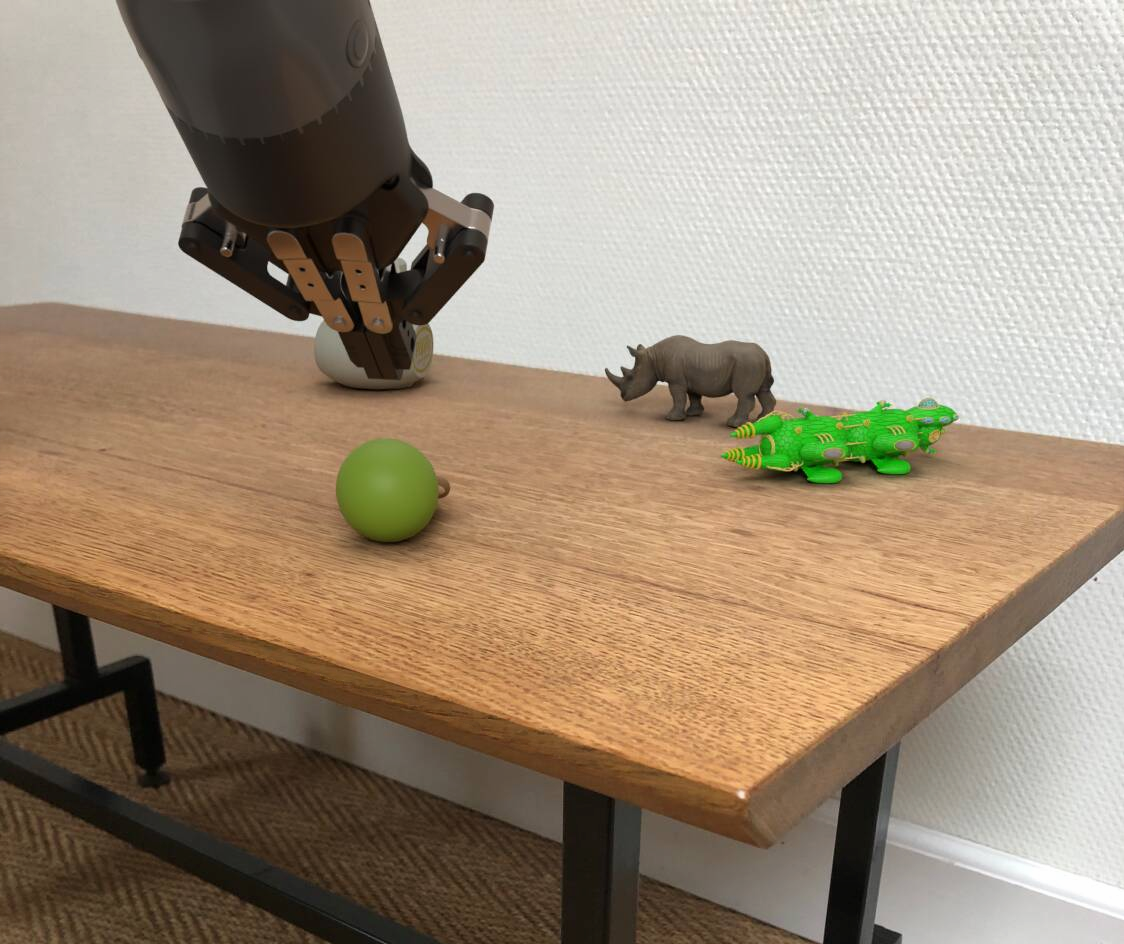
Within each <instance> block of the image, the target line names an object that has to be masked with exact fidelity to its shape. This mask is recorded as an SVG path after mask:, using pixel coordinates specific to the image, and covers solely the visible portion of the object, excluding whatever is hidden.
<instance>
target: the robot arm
mask: <svg viewBox="0 0 1124 944" xmlns="http://www.w3.org/2000/svg"><path fill="white" fill-rule="evenodd" d="M115 2H116V6H117V9H118V11H119V15H120V17H121V20H122V22H123V24H124V26H125V28H126V31H127V32H128V33H127V34H128V35H129V37H130V39H131V42H132V43H133V45H134V47H135V50H136V52H137V54H138V56H139V59H140V60H141V61H142V63H143V65H144V66H145V68H146V71H147V73H148V75H149V76H150V78H151V80H152V83H153V85H154V87H155V88H156V90H157V92H158V94H159V97H160V99H161V100H162V103H163V105H164V106H165V108H166V110H167V112H168V114H169V117H170V118H171V120H172V122H173V124H174V126H175V128H176V130H177V132H178V135H179V136H180V138H181V140H182V142H183V144H184V146H185V148H186V150H187V153H188V154H189V155H190V157H191V158H190V159H192V162H193V164H194V166H195V168H196V169H197V171H198V173H199V176H200V178H201V180H202V181H203V183H204V185H205V187H203V186H198V187H195V188H193V189H192V191H191V193H190V197H189V200H188V204H187V206H186V208H185V213H184V216H183V220H182V223H181V230H180V233H179V238H178V241H177V246H178V248H179V249H180V250H181V251H182V252H183V253H184V254H185V255H187V256H188V257H190V258H191V259H193V260H195V261H196V262H198V263H199V264H201V265H202V266H204V267H205V268H207V269H208V270H211V271H212V272H214V273H215V274H217V275H219V276H220V277H222V278H223V279H225V280H226V281H228V282H229V283H231V284H232V285H235V286H236V287H237V288H239V289H241V290H243V291H244V292H246V293H247V294H249V295H251V296H252V297H253V298H255V299H257V300H258V301H260V302H261V303H263V304H265V305H266V306H267V307H269V308H270V309H272V310H274V311H275V312H277V313H279V314H280V315H282V316H284V317H285V318H287V319H288V320H291V321H294V322H305V321H307V320H308V319H309V317H310V315H315V316H318V317H320V318H321V317H322V319H323V321H325V322H326V324H327V325H328V326H329V327H330V328H331V329H333V330H335V331H338V334H339V336H340V338H341V341H342V343H343V345H344V346H345V350H346V352H347V354H348V356H349V359H350V361H351V362H352V363H353V364H354V365H355V366H357V367H358V368H364V370H365V373H366V375H367V377H368V379H381V380H384V379H385V380H401V379H402V375H403V370H410V367H411V364H412V359H413V353H414V348H415V343H416V338H417V336H416V333H415V330H414V327H413V324H414V325H419V326H421V325H426V324H430V323H431V321H432V320H433V319H434V318H435V317H436V316H437V315H438V313H439V312H440V311H441V310H442V309H443V308H444V307H445V306H446V305H447V304H448V302H449V301H450V300H451V299H452V298H453V297H454V296H455V295H456V293H457V292H458V291H459V290H460V289H461V288H462V287H463V286H464V285H465V283H466V282H468V281H469V279H470V278H471V277H472V276H473V275H474V274H475V272H476V271H478V269H479V268H480V267H481V266H482V265H483V264H484V262H485V260H486V255H487V250H488V244H489V237H490V232H491V228H492V220H493V215H494V209H495V204H494V201H493V200H492V199H491V197H489V196H488V195H486V194H484V193H481V192H471V193H468V194H466V195H465V197H463V198H462V200H461V201H458V200H456V199H454V198H453V197H451V196H449V195H447V194H445V193H443V192H441V191H440V190H438V189H436V188H434V182H433V181H434V180H433V176H432V173H431V170H430V169H429V167H428V166H427V165H426V163H425V162H424V161H423V159H421V158H420V157H419V156H418V154H416V152H415V151H414V150H413V149H412V147H411V145H410V141H409V138H408V133H407V128H406V123H405V119H404V115H403V110H402V107H401V103H400V100H399V97H398V93H397V90H396V86H395V83H394V80H393V75H392V72H391V69H390V66H389V65H390V64H389V62H388V59H387V56H386V53H385V52H386V51H385V49H384V45H383V42H382V38H381V35H380V31H379V27H378V24H377V21H376V18H375V14H374V10H373V7H372V4H371V0H115ZM422 224H423V226H425V227H426V229H427V230H428V231H427V236H426V244H425V245H424V247H423V248H422V249H421V250H420V252H419V253H418V254H417V256H415V258H414V259H413V260H412V261H411V264H410V269H407V271H404V272H400V269H399V264H398V260H397V258H399V256H400V255H401V254H402V253H403V251H404V249H405V248H406V247H407V245H408V244H409V243H410V241H411V239H412V238H413V237H414V235H415V234H416V232H417V231H418V230H419V228H420V227H421V225H422ZM269 263H270V264H272V265H273V266H275V267H277V268H279V269H280V270H281V271H282V272H284V273H286V274H287V279H286V283H283V282H281V281H280V280H278V279H277V278H275V277H274V276H273V275H272V274H270V271H269V269H268V265H269Z"/></svg>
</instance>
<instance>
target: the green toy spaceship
mask: <svg viewBox="0 0 1124 944" xmlns="http://www.w3.org/2000/svg"><path fill="white" fill-rule="evenodd" d="M891 406H893V404H892V403H890V402H887V400H884V399H882V400H879V401H877V402H876V405H875V406H874V407H873V408H871V409H870V410H864V411H857V412H852V413H850V414H848V413H847V412H845V411H842V412H841V413H840V415H834V416H833V415H832V416H830V415H829V416H828V415H820V414H814V413H813V412H812V411H811V410H810V409H809V408H808V407H803V408H798V410H795V413H799V414H801V415H802V416H803V417H797V418H795V417H794V416H793V414H790V413H786V412H785V411H780V410H779V409H778V410H774V411H773V412H771V413H770V414H767V415H766V416H765V417H762V418H760V419H759V420H758V421H756V420H755V421H754V422H753V423H752V422H751V421H750V422H747V423H746V424H745V425H742V426H740V427H736V429H735V430H733V432H732V433H730V434H729V437H730V438H735V439H737V440H738V439H741V440H742V439H753V438H755V436H759V435H760V438H759V440H758V444H755V445H750V446H747V447H742V446H736V447H734V448H731V449H728V450H726V451H724V453H722V454H720V457H721V458H722V459H724V460H725V461H728V462H732V463H735V464H737V465H740V467H744V468H745V469H749V470H754V471H759V470H760V469H764V470H769V471H775V472H791V471H793V472H798V470H799V469H800V470H802V471H803V472H804V473H805V475H806V476H807V478H806V480H807V481H808V482H812V483H816V484H835V483H839V482H840V481H842V480H843V474H842V472H841V471H840V470H838V469H836V468H834V467H838V466H839V463H842V462H850V461H851V462H860V463H861V464H865V463H866V461H871V462H872V463H873V464H874V465H875V467H876V469H877V470H876V471H877V472H879V473H881V474H886V475H906V474H908V473H909V472H911V470H912V466H911V464H910V463H909V462H908V461H906V460H905V459H907V458H908V457H909V452H915V451H916V450H918V449H919V448H920V449H921V451H923V453H924V454H925V455H930V454H935V453H937V451H938V450H935V449H934V448H932V447H931V446H932V445H934V444H935V443H937V442H938V441H939V440H940V438H941V436H942V435H946V434H947V433H948V431H947V429H946V428H945V427H947V426H950V425H951V424H953V423H954V422H957V421H958V420H959V418H960V415H959V414H958V413H957V412H956V411H955V410H954V409H953V408H951V407H949V406H947V405H943V404H939V402H938V401H937V400H936V399H934V398H932V397H925V398H924V399H922V400H920V401H919V403H918V405H917V406H912V407H911V408H909V409H906V410H904V409H902V408H890V407H891ZM772 413H774V414H772ZM780 415H781V416H780ZM785 417H786V419H785ZM789 417H791V418H789ZM901 456H902V457H903V459H901V458H900V457H901ZM831 464H832V465H833V466H834V467H829V466H828V465H831ZM824 466H828V467H824Z"/></svg>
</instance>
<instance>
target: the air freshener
mask: <svg viewBox="0 0 1124 944" xmlns="http://www.w3.org/2000/svg"><path fill="white" fill-rule="evenodd" d="M397 260H398V264H399V269H400V272H404V271H408V264H407V262H406V261H405V260H404V259H403V258H401V257H398V258H397ZM413 327H414V330H415V333H416V336H417V338H416V343H415V348H414V353H413V359H412V364H411V367H410V370H403V375H402V379H401V380H385V379H384V380H381V379H368V377H367V375H366V373H365V370H364V368H358V367H357V366H355V365H354V364H353V363H352V362H351V361H350V359H349V356H348V354H347V352H346V350H345V346H344V345H343V343H342V341H341V338H340V336H339V334H338V331H335V330H333V329H331V328H330V327H329V326H328V325H327V324H326V322H325V321H324V320H322V322H321V323H320V324H319V326H318V327H317V329H316V333H315V336H314V343H313V353H314V354H313V355H314V361H315V363H316V366H317V368H318V370H319V371H320V372H321V373H322V374H324V375H325V376H326V377H328V378H329V379H331V380H332V381H334V382H336V383H338V384H340V385H342V386H345V387H348V388H351V389H352V388H353V389H362V390H365V389H366V390H397V389H405V388H410V387H412V386H413V385H414V384H415V383H416V382H418V381H419V380H421V379H422V378H424V377H425V376H426V375H427V374H428V372H429V370H430V368H431V365H432V362H433V356H434V345H435V343H434V334H433V330H432V327H431V326H430V323H428V324H426V325H421V326H419V325H414V324H413Z"/></svg>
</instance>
